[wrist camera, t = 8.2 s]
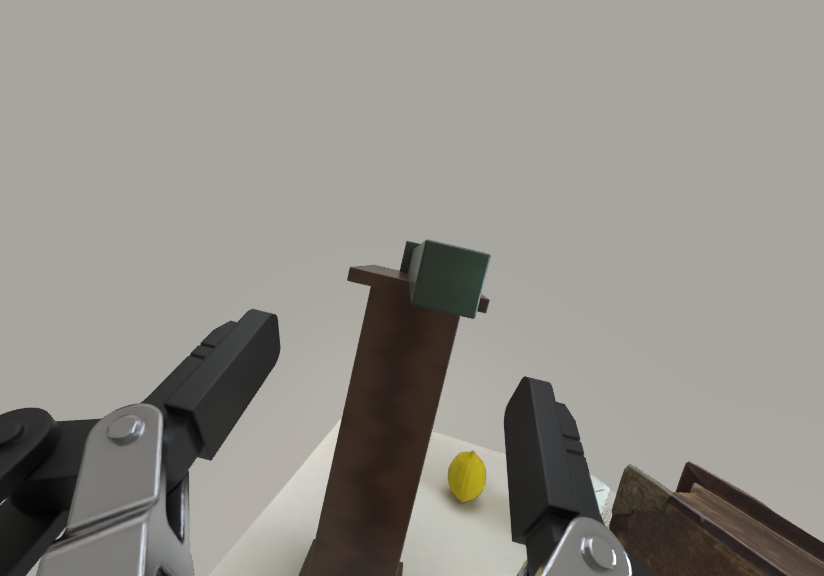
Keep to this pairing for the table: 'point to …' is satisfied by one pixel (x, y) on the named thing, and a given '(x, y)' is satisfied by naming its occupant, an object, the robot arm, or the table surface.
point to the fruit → (467, 476)
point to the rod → (445, 277)
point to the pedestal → (383, 430)
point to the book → (708, 529)
